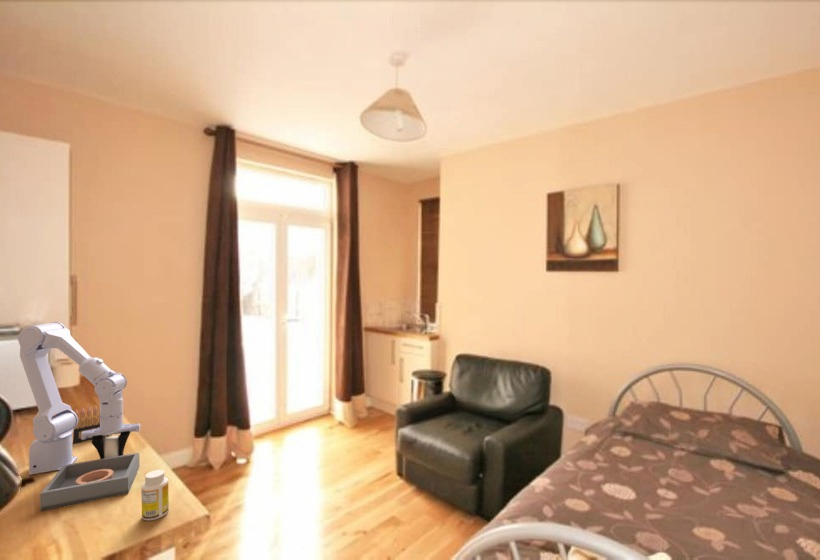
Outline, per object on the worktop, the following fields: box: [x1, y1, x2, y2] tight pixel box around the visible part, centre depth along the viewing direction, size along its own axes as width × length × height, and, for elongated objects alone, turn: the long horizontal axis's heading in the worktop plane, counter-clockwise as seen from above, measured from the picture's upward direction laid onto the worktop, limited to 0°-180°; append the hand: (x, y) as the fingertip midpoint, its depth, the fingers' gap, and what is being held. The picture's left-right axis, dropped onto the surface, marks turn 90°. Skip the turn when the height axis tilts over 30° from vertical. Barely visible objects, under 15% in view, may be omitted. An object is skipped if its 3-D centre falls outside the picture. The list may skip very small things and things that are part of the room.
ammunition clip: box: [72, 404, 110, 445], centre depth 140 cm, size 11×2×12 cm, turn 132°
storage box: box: [39, 452, 140, 512], centre depth 108 cm, size 18×16×4 cm
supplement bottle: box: [140, 469, 170, 521], centre depth 96 cm, size 6×6×10 cm
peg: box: [104, 435, 119, 458], centre depth 121 cm, size 4×4×8 cm
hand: (112, 457), depth 121 cm, fingers closed on peg, 4 cm apart
